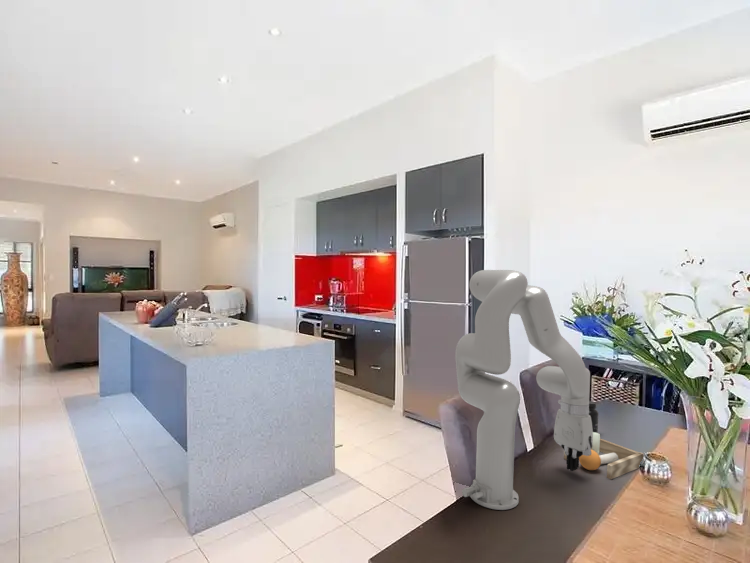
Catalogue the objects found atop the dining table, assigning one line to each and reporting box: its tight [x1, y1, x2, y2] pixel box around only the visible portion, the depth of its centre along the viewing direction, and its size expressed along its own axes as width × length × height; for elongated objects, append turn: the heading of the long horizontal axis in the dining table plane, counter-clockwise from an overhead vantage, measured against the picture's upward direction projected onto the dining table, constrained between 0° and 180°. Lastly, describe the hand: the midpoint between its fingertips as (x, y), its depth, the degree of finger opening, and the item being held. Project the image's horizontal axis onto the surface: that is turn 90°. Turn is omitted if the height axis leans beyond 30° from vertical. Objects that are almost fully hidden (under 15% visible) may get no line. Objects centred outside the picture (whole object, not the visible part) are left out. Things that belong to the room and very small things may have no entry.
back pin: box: [591, 432, 601, 455], centre depth 136 cm, size 3×3×8 cm
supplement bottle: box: [589, 400, 600, 433], centre depth 158 cm, size 7×7×12 cm
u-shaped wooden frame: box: [563, 437, 645, 480], centre depth 134 cm, size 18×15×4 cm
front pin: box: [599, 453, 619, 466], centre depth 134 cm, size 3×3×8 cm
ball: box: [579, 450, 602, 471], centre depth 129 cm, size 6×6×6 cm
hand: (572, 468), depth 126 cm, fingers closed
